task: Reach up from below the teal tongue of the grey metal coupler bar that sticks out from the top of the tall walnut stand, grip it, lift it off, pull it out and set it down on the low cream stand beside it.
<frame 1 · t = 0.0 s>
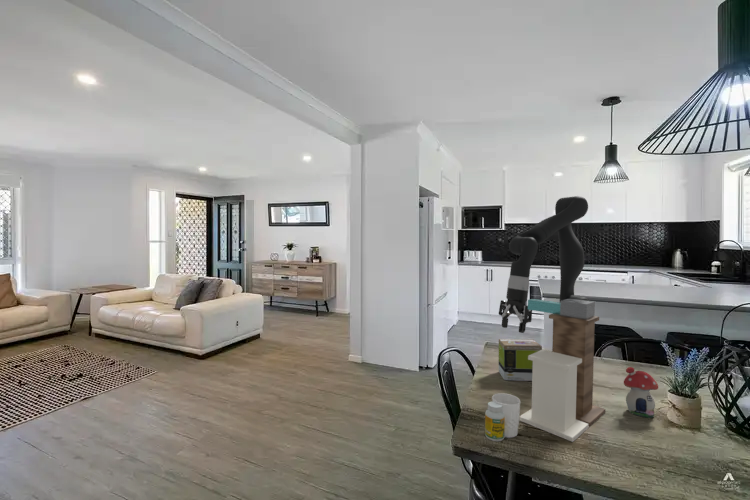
hand: (512, 329, 140), 22 cm above the table, tool pointing down, fingers open, 8 cm apart
decorative ornament: (640, 413, 121), on the table
white cup: (505, 432, 109), on the table, touching supplement bottle
low cream stand: (553, 423, 113), on the table
tall walnut stand: (571, 410, 123), on the table
tea box: (519, 377, 152), on the table
supplement bottle: (494, 437, 106), on the table, touching white cup
coupler bar: (564, 314, 124), point 32 cm above the table, touching tall walnut stand
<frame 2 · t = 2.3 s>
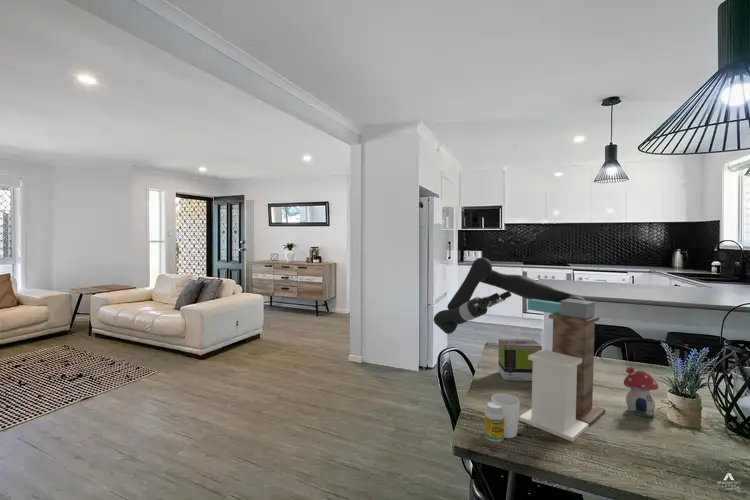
hand: (504, 294, 141), 36 cm above the table, tool pointing upward, fingers open, 8 cm apart
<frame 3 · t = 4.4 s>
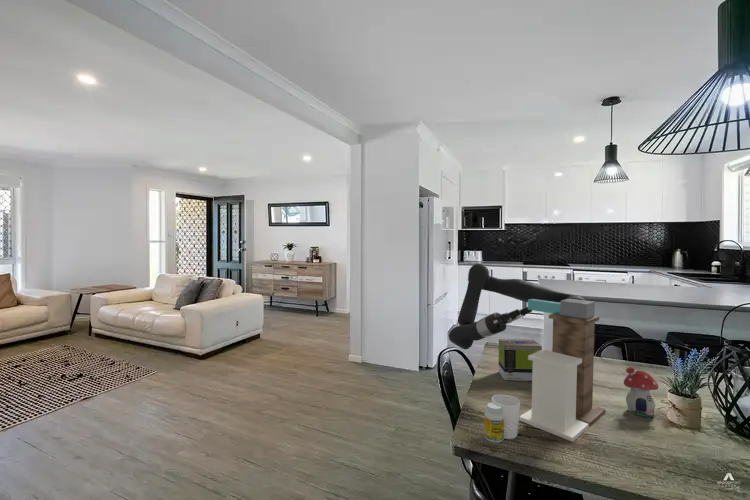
hand: (525, 310, 134), 31 cm above the table, tool pointing upward, fingers open, 8 cm apart
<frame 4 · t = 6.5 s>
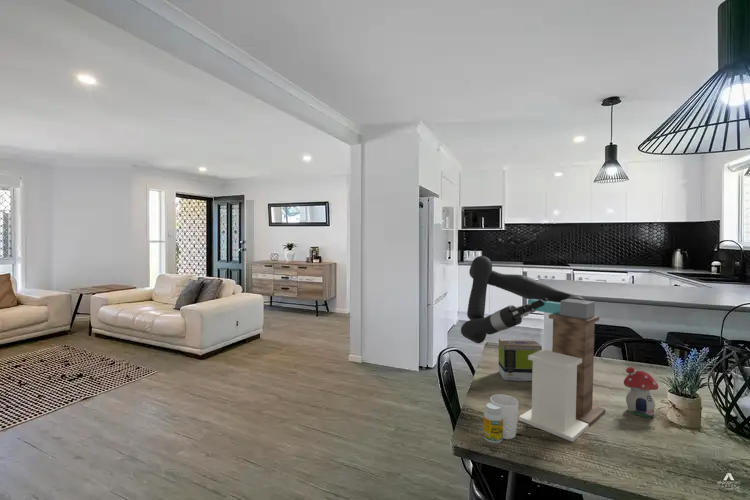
hand: (545, 301, 129), 35 cm above the table, tool pointing upward, fingers closed on coupler bar, 3 cm apart
white cup: (503, 433, 108), on the table, touching supplement bottle
coupler bar: (564, 314, 124), point 32 cm above the table, touching gripper, tall walnut stand
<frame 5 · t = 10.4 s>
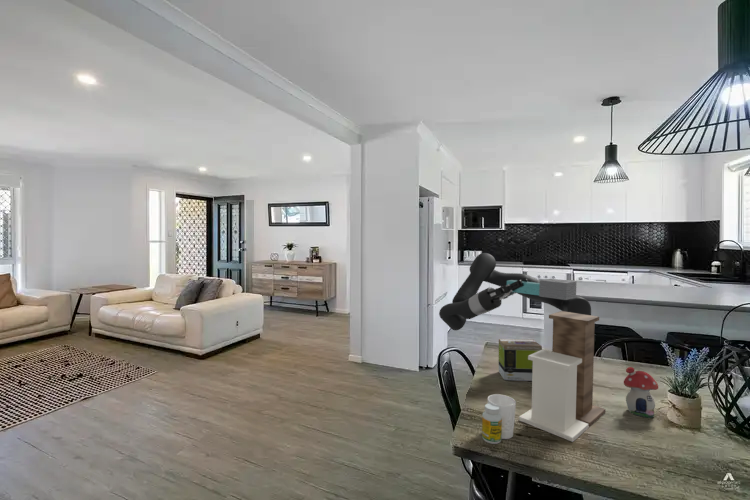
hand: (524, 282, 120), 43 cm above the table, tool pointing upward, fingers closed on coupler bar, 3 cm apart
white cup: (500, 433, 108), on the table, touching supplement bottle
coupler bar: (544, 295, 115), point 40 cm above the table, touching gripper
when the fingers open (25 cm above the table, at t = 14.3 s): coupler bar stays where it is, resting on low cream stand.
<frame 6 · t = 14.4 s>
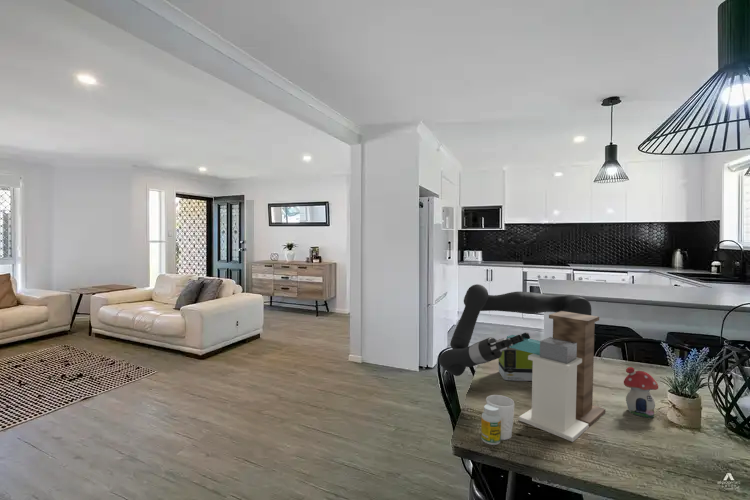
hand: (525, 336, 120), 25 cm above the table, tool pointing upward, fingers open, 3 cm apart
coupler bar: (544, 354, 115), point 21 cm above the table, touching low cream stand
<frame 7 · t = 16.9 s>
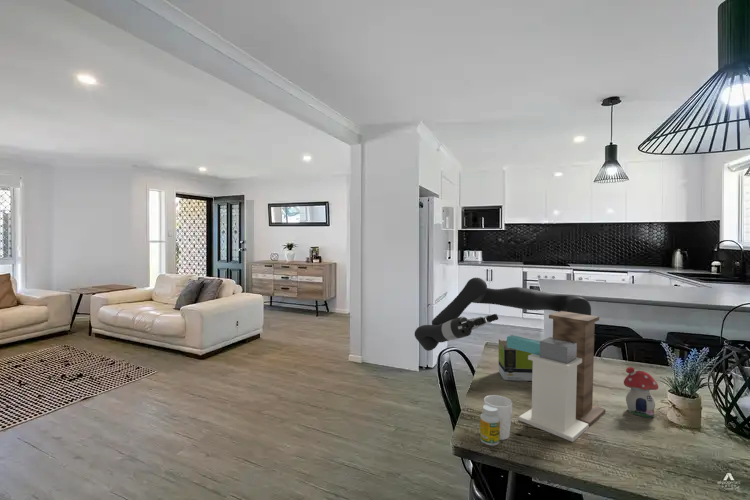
hand: (491, 318, 130), 29 cm above the table, tool pointing upward, fingers open, 8 cm apart
white cup: (497, 434, 107), on the table, touching supplement bottle
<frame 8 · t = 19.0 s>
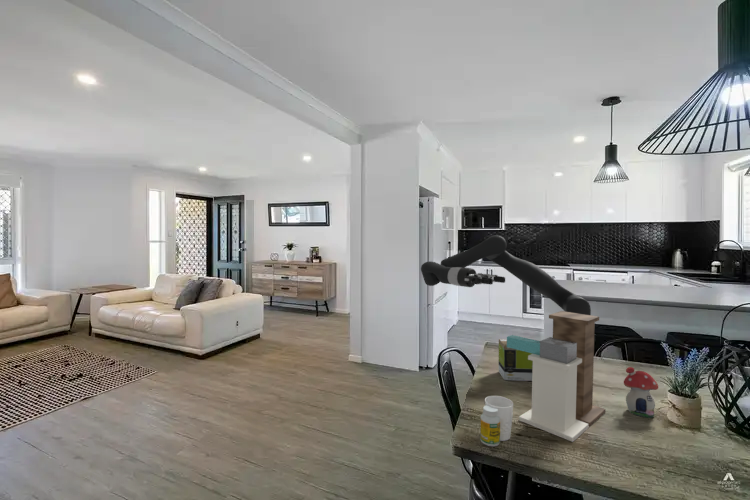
hand: (498, 280, 134), 42 cm above the table, tool horizontal, fingers open, 8 cm apart
at the end: coupler bar inside the target area on the low cream stand (0.2 cm from its centre), point 21.0 cm above the low cream stand's base; coupler bar touching low cream stand; the gripper is holding nothing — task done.
